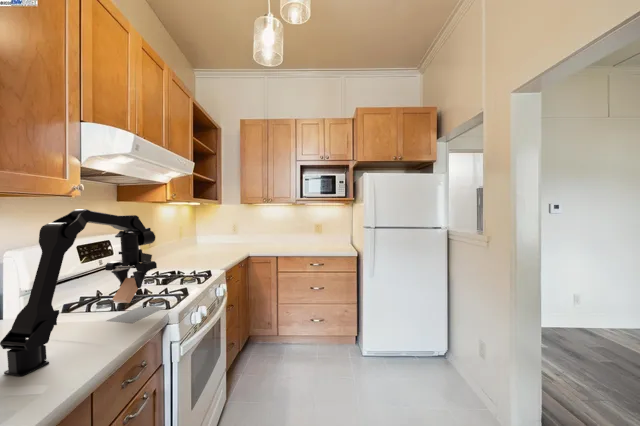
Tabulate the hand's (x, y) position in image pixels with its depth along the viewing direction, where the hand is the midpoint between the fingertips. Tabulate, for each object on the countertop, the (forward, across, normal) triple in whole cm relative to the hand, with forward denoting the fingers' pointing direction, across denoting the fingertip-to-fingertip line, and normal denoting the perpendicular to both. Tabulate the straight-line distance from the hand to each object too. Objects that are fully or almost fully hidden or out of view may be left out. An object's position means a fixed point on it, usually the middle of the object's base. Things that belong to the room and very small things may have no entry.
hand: (132, 287), depth 112 cm
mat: (+11, 0, -1) cm, 11 cm away
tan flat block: (+3, 0, +5) cm, 6 cm away
